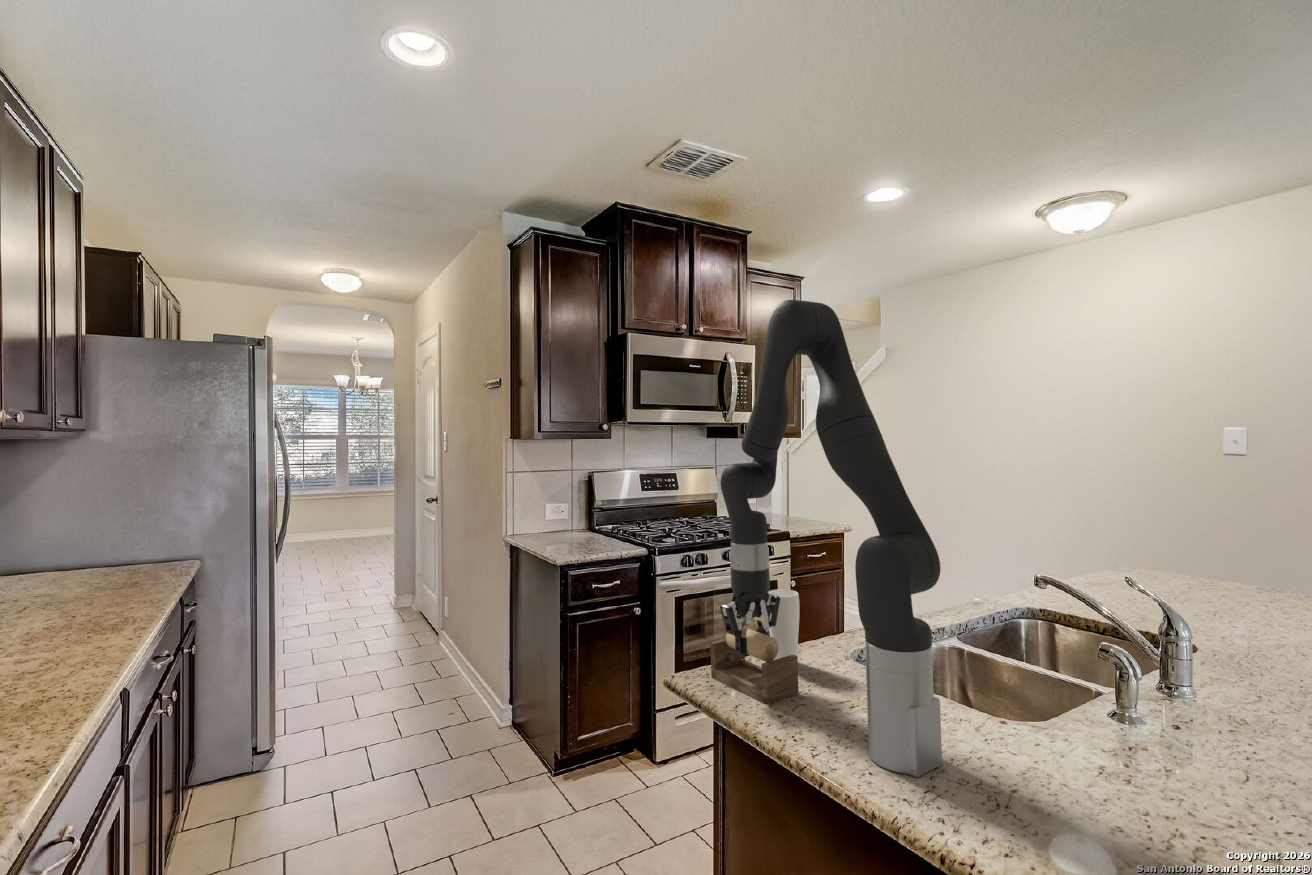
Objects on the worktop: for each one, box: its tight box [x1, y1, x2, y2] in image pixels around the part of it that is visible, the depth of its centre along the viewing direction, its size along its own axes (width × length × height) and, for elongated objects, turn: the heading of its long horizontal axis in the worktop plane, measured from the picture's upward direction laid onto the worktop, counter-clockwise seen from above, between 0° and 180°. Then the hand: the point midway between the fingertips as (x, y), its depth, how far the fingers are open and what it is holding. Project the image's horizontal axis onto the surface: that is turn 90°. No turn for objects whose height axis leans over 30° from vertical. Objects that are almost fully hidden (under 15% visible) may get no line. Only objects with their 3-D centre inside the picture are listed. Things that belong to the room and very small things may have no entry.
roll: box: [725, 627, 778, 663], centre depth 119 cm, size 10×5×5 cm, turn 33°
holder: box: [709, 638, 800, 705], centre depth 119 cm, size 16×8×7 cm, turn 33°
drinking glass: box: [768, 588, 800, 660], centre depth 130 cm, size 7×7×15 cm
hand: (752, 652), depth 119 cm, fingers closed on roll, 4 cm apart
